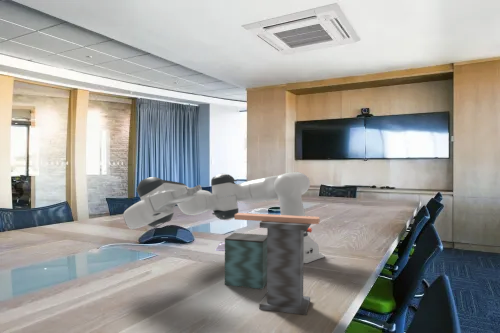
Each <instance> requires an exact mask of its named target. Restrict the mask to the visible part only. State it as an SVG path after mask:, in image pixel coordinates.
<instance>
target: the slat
mask: <svg viewBox="0 0 500 333" xmlns="http://www.w3.org/2000/svg"><path fill="white" fill-rule="evenodd" d="M320 217H321V216H313V215H311V216H310V215H309V216H307V215H305V216H292V215H281V214H273V213H272V214H269V213H251V212H249V213H247V212H238V213H237V214H235V215H234V220H237V221H238V220H239V221H257V222H261V221H271V222H289V223H307V224H311V225H320V224H319V223H320V222H321V218H320Z"/></svg>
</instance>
